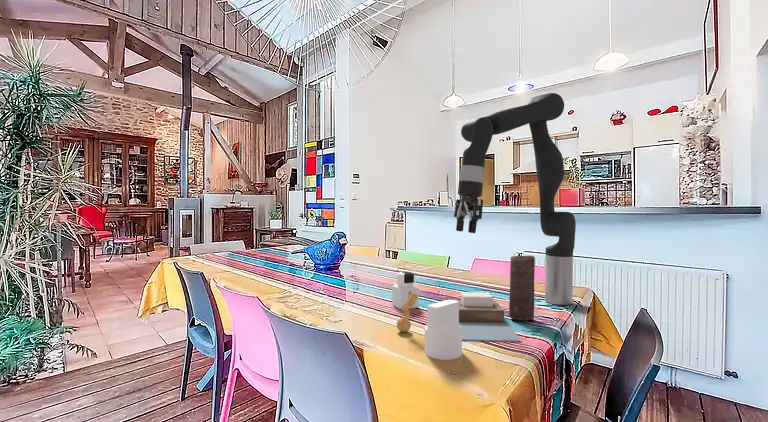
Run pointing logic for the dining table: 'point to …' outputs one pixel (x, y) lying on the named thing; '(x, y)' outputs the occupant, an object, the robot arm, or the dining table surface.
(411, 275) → the medicine bottle
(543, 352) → the dining table surface
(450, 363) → the dining table surface
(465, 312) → the brown flat block
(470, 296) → the white rectangular block
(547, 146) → the robot arm
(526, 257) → the candle
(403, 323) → the figurine
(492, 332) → the mat
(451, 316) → the cylinder with rectangular tab
